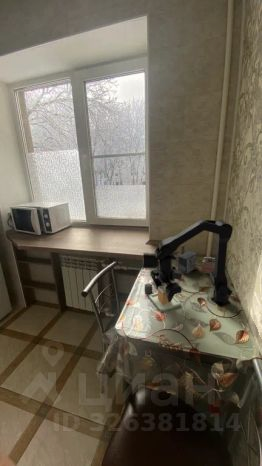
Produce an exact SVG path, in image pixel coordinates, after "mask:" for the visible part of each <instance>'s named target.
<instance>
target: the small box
mask: <svg viewBox="0 0 262 466" xmlns="http://www.w3.org/2000/svg"><path fill="white" fill-rule="evenodd" d="M177 257H178V256H177ZM196 259H197V253H195V252H192V251H188V250H187V251H184V254H182V255H180V256H179V257H178V258H177V262H178V263H177V270H179V271H180V272H181V273H183V274H182V275H188V274H190V273H191V272H192V271H194V270H196V263H197V262H196Z"/></svg>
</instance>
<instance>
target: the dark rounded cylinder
mask: <svg viewBox="0 0 262 466" xmlns="http://www.w3.org/2000/svg"><path fill="white" fill-rule="evenodd" d="M144 294H146V295H148V296H149V295H151V294H153V284H152V283H145V284H144Z"/></svg>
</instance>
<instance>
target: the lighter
mask: <svg viewBox="0 0 262 466" xmlns="http://www.w3.org/2000/svg"><path fill="white" fill-rule="evenodd" d="M214 265H215V257H211V256H209V257H207V256H204V257H203V259H202V263H201V273H202V274H206V273H208V274H209V275H210V273H209V272H210V271H211V272H212V271H213V270H214Z"/></svg>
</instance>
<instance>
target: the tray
mask: <svg viewBox="0 0 262 466" xmlns="http://www.w3.org/2000/svg"><path fill="white" fill-rule="evenodd" d="M148 298H149V300H150V301H151V302H152V304H153V305H154V306H155V307H156V308H157V310H158V311H159V312H160V313H164V312H167V311H169V310H170V311H171V310H173V309H175V308H178V307H181V306H182V302H181V301H179V299H178V298H176V297H175V295H174V296H173V298H172V300H171V302H169V303H166V304H162V303H161V302H160V301H159V300H158V292H155V293H152V294H149V295H148Z"/></svg>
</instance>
